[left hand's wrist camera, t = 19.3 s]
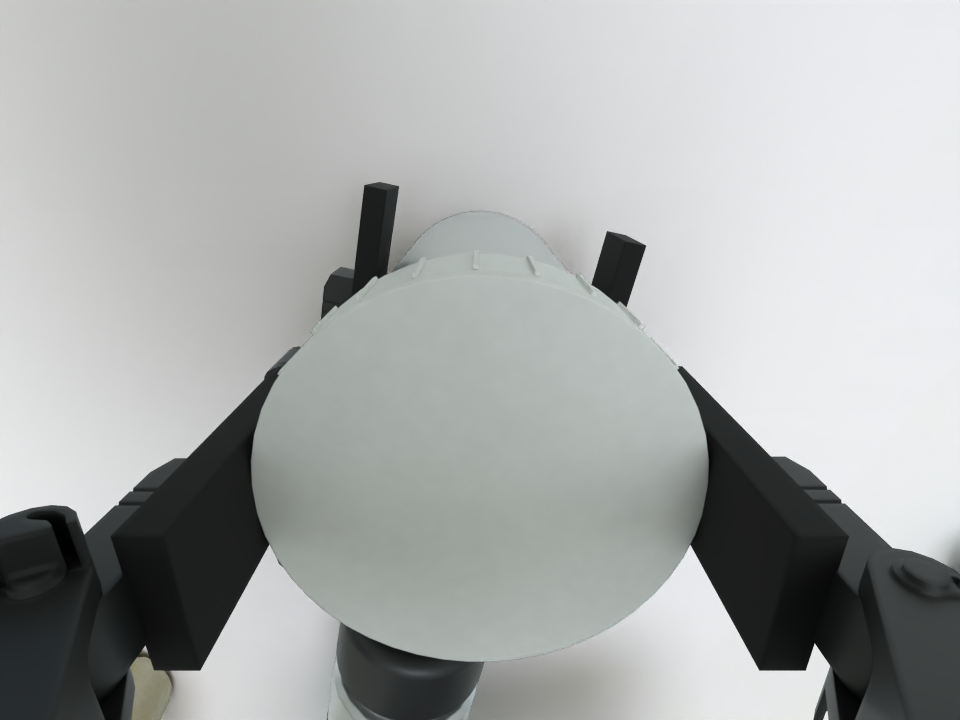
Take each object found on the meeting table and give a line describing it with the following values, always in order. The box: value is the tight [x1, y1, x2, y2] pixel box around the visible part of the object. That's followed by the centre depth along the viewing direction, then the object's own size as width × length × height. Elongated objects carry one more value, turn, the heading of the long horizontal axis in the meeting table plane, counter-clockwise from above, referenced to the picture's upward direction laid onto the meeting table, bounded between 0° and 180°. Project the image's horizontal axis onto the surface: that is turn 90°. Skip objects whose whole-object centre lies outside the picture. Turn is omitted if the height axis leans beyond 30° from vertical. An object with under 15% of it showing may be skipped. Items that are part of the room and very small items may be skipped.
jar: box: [392, 211, 569, 273], centre depth 19 cm, size 8×8×16 cm
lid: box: [251, 250, 709, 662], centre depth 11 cm, size 9×9×2 cm
